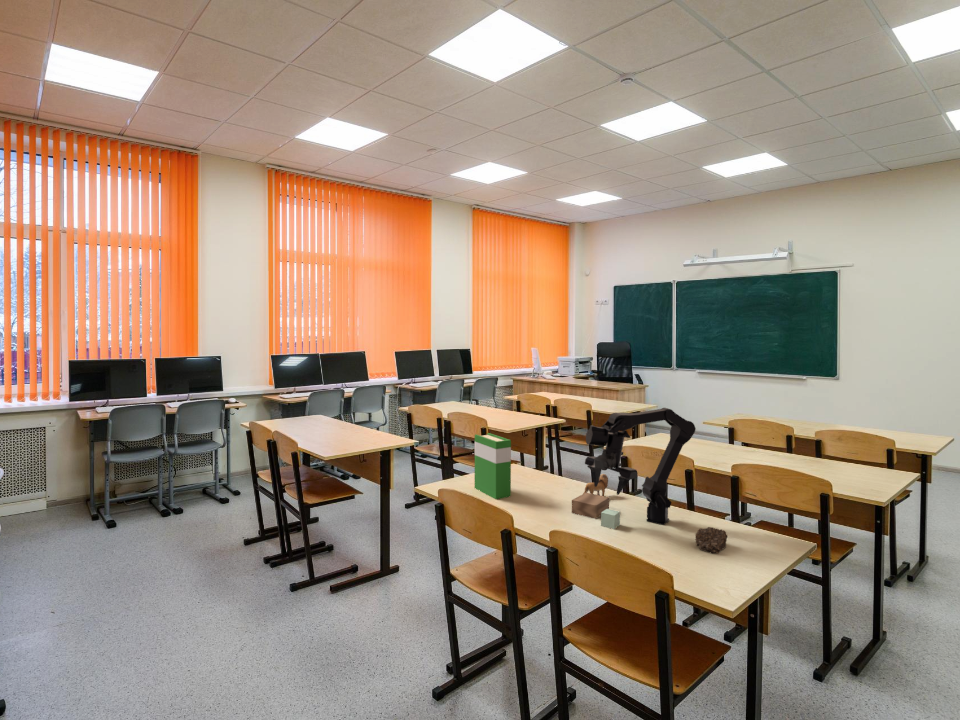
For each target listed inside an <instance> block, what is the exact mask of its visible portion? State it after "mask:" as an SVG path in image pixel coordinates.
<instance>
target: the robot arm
mask: <svg viewBox="0 0 960 720" xmlns="http://www.w3.org/2000/svg"><path fill="white" fill-rule="evenodd" d="M662 421H665V422H666V423H667V424H668V425H669V426H670V430H669V441H668V444H667V446H666V448H665V450H664V452H663V454H662V456H661V459H660V461H659V462H658V465H657V468H656V469H655V472H654V473H653V475H651V476H650V477H649V476H646V477H645V480H644V482H643V483H642V484H641V487H642V489H641V492H642V495H643V497H645V498H646V501H647V502H648V506H647V507H646V518H647V519H646V522H650V523H655V524H659V525H666V523H668V522H669V521H670V518H669V509H670V508H671V506H672V501H671V500H670V499H669V498H668V497H667V496H666V495H667V490H668V484H667V483H668V479H669V477H670V475H671V473H672V470H673V468H674V466H675V464H676V461H677V459H678V457H679V455H680V454H681V451H682V449H683V446H684V445H686V444H687V443H688V442H690V440H691V439H692V437H693V436H694V434H695V432H696V430H697V429H696V426H695V424H694V422H692V421H690V420H686V419H685V418H684V417H682V416H681V415H679V414H677V413H676V412H675V411H674V410H673V409H671V408H667V407H662V408H659V409H658V408H656V409H653V410H652V409H651V410H647V411H646V410H645V411H639V412H633V413H628V412H612V413H610V414H609V417H608V419H607V420H606V421H605V422H604V423H603V424H602V425H601V427H600V426H595V425H589V429H588V430H587V432H586V434H585V443H586V444H587V445H590V446H598V447H604V446H605V448H603V450H602V453H601V454H599V455H597V456H586V458H585V460H584V465H587V468H588V469H590V471H591V474H592V479H593V483H594V486H595V487H597V485H598V482H599V478H600V475H601V474H602V471H607V470H611V471H614V472H617V473H619V475H620V476H617V478H618V483H617V488H616V495H618V496H619V495H620V494H621V492H622V490H623V489H624V488H625V486H626V485H628V483H629V481H631V480H634V479H638V473H639V472H638V471H637V469H635V468H632V467H629V466H627V467H622V463H621V458H622V456H623V455H624V452H623V446H624V442H625V441H624V440H625V438H627V439H630V438H631V435H630V434H629V433H628V431H627V430H630V429H632V428H634V427H635V426H638V425H643V424H648V423H649V424H650V423H655V422H662Z"/></svg>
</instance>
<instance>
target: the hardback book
mask: <svg viewBox="0 0 960 720" xmlns="http://www.w3.org/2000/svg"><path fill="white" fill-rule="evenodd" d="M511 473H512V440H511V439H508V438H506V437H502V436H499V435H496V434H493V433H490V432H487V434H485V435H480V434H474V489H475V488H476V491H477V490H478V491H479V490H480V491H479V492H481V493H482V494H485V495H486V496H489V497H490V498H492V499H494V500H500V499H505V498H504V497H506V498H510V497H509V496H511V495H512V492H511V491H512V490H511V489H512V488H511V487H512V485H511V484H512V483H511V481H512V480H511V479H512V474H511ZM499 498H500V499H499Z"/></svg>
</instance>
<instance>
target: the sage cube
mask: <svg viewBox="0 0 960 720" xmlns="http://www.w3.org/2000/svg"><path fill="white" fill-rule="evenodd" d="M620 524H621V511H619V510H615V509H610V508H609V509H606V510H604V511H603V512H601V516H600V526H601V527H603V528H608V529H611V528H612V529H613V530H615V529H616V527H617V526H618V527H619V526H620ZM618 527H617V528H618Z"/></svg>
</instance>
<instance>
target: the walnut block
mask: <svg viewBox="0 0 960 720" xmlns="http://www.w3.org/2000/svg"><path fill="white" fill-rule="evenodd" d="M583 493H584V492H583ZM583 493H582V494H580V495H578V496H576V497H574V498H573V499H571V514H574V513H575V514H574V515H578V514H579V516H582V515H583V517H586V518H587V517H588V518H592V519H595V520H597V519H598V518H599V517H601V512H603V511H604V510H606V509H610V496H606V495H604V496H602V495H601V494H600V495H597V493H596V494H594V493H593V494H591V493H590V492H587V493H584V494H583Z"/></svg>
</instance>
